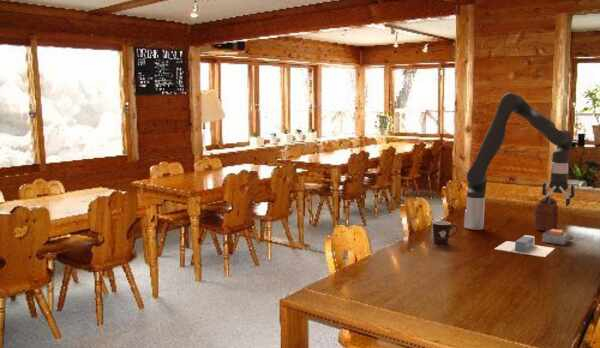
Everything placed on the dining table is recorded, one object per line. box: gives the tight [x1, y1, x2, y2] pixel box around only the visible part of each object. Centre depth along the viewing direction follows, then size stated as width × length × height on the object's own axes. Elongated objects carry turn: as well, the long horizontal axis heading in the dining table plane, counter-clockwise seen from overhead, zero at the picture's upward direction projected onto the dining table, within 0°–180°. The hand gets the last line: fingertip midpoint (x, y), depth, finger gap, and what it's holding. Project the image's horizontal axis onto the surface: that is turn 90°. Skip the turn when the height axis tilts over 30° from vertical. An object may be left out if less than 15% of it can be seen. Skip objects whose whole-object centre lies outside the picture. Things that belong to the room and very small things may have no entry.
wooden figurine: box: [534, 196, 559, 232], centre depth 290 cm, size 12×6×18 cm, turn 54°
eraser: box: [514, 234, 536, 252], centre depth 254 cm, size 4×15×4 cm, turn 142°
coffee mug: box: [431, 220, 459, 246], centre depth 264 cm, size 12×9×10 cm
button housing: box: [541, 230, 571, 246], centre depth 268 cm, size 10×10×4 cm
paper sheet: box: [494, 240, 556, 258], centre depth 254 cm, size 22×18×1 cm
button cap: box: [550, 229, 564, 235], centre depth 268 cm, size 5×5×3 cm
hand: (557, 205), depth 266 cm, fingers open, 8 cm apart
